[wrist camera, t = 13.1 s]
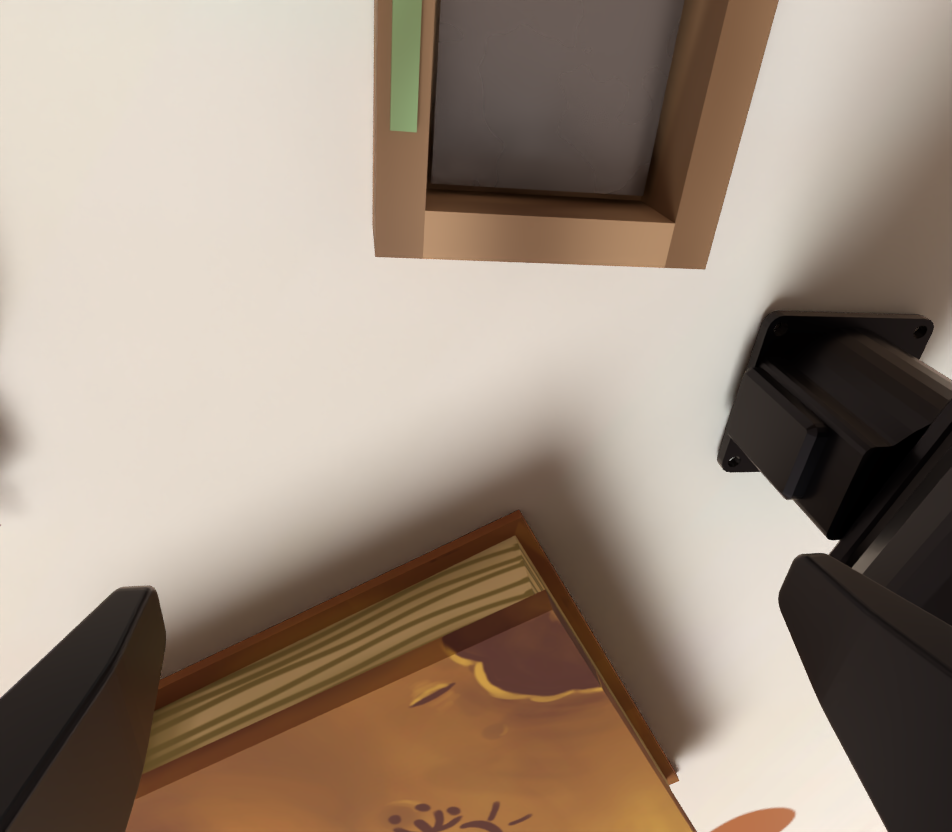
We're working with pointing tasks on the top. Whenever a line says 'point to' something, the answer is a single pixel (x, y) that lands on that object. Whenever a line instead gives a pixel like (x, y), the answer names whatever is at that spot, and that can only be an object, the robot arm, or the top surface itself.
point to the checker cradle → (559, 212)
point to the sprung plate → (549, 92)
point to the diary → (413, 713)
